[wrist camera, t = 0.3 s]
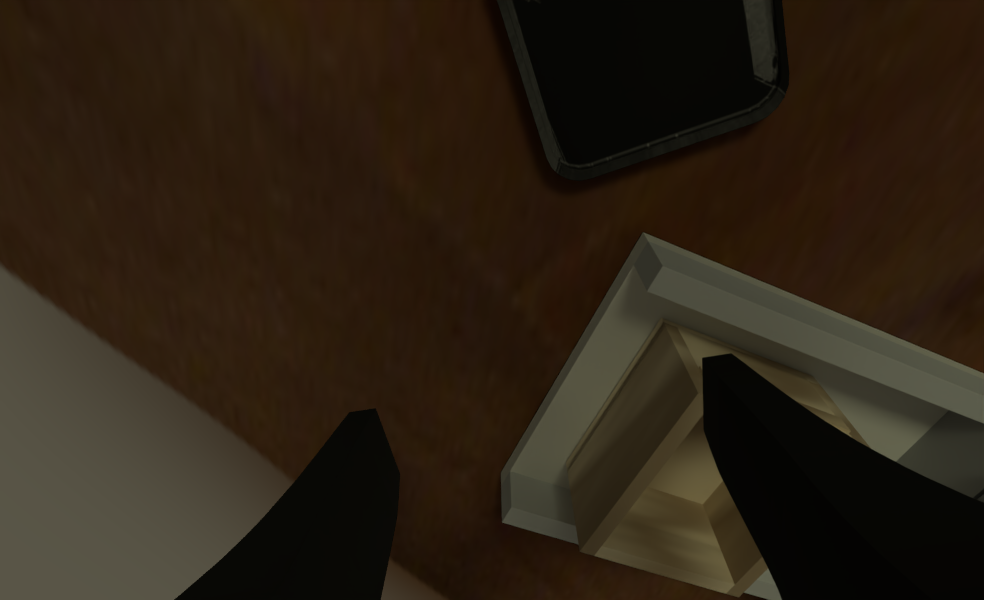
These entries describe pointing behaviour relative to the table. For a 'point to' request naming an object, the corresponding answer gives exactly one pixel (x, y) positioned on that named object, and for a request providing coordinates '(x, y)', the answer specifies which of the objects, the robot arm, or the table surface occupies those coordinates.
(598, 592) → the table surface
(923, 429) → the bay
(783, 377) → the crate
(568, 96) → the phone
